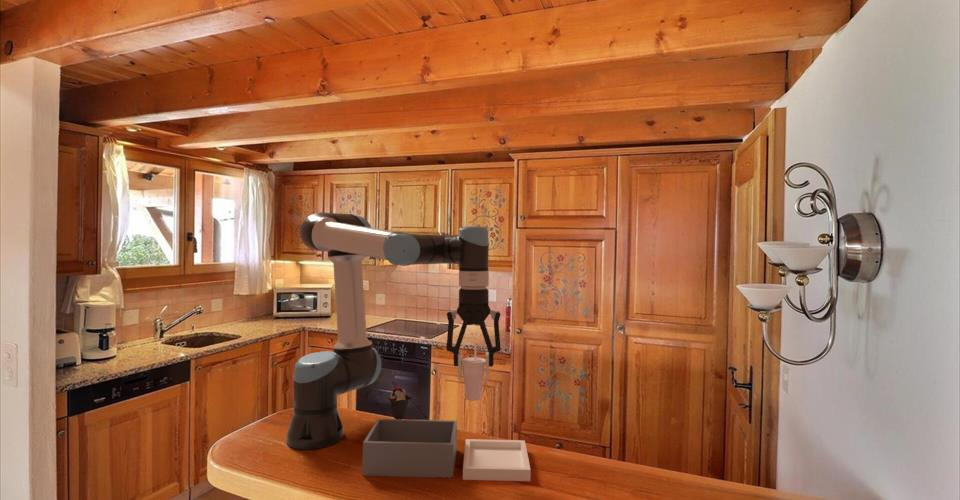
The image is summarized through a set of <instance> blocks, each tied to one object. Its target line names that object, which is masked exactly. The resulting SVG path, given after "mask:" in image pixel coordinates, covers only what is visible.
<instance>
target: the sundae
mask: <svg viewBox="0 0 960 500" xmlns="http://www.w3.org/2000/svg"><path fill="white" fill-rule="evenodd" d="M391 384H393V385H394V387H393V388H392V391H391V393H390V395H389V396H388V397H387V400H389V402H390V408H391V414H392V415H391V416H392V417H393V419H404V418H405V417H406V416H407V411H408V403H409V401H410V400H412V397H411V395H410V392H411V390H409V391H408V392H407V393H406V389H404V388H402V387H400V386H398V385H397V384H396V383H395V381H391ZM395 387H396V388H395Z"/></svg>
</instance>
